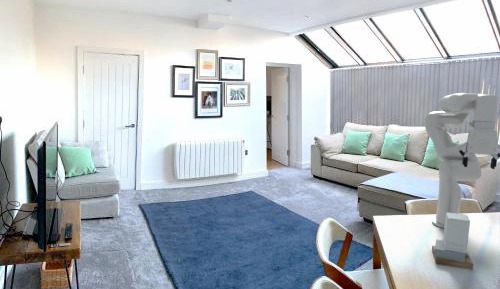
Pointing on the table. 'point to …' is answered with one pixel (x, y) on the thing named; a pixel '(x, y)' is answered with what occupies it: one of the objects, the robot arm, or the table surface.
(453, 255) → the slate grey slab
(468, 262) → the walnut base slab
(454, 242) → the supplement box
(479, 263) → the table surface
